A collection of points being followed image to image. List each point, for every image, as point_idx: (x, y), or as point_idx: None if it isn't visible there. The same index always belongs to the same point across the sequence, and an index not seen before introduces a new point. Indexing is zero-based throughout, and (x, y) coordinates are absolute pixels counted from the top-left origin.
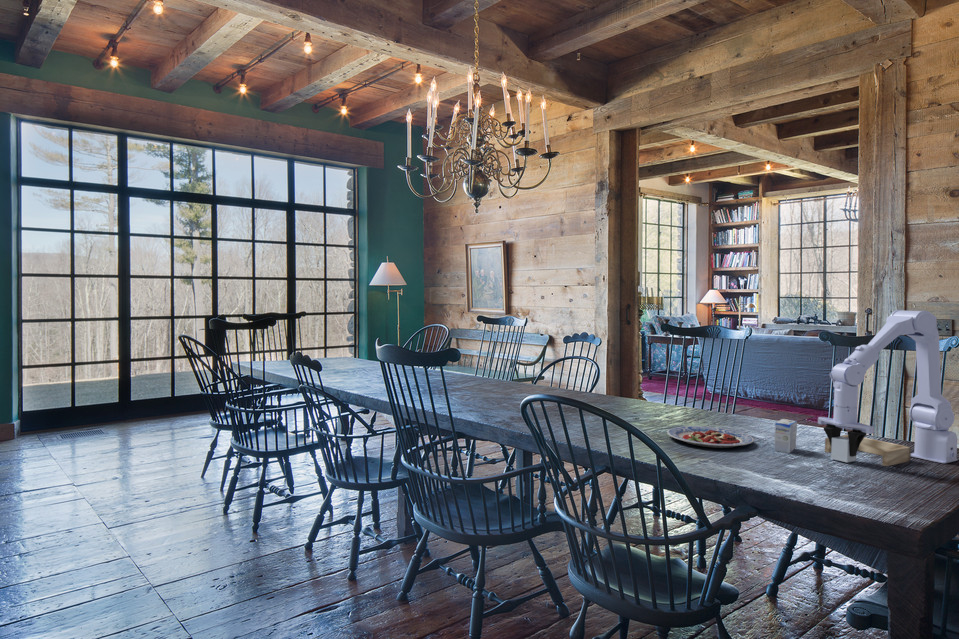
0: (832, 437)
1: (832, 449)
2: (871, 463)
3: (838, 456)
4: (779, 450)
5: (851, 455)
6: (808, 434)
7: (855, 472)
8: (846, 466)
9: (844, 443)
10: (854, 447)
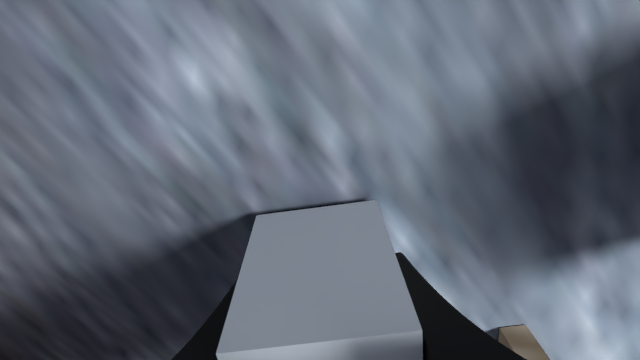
0: (427, 346)
1: (379, 242)
2: None
3: (321, 223)
4: None
5: None
6: None
7: (34, 59)
8: (203, 149)
9: (262, 319)
10: None
